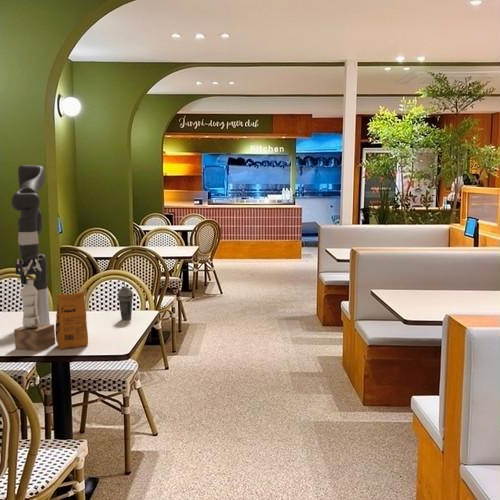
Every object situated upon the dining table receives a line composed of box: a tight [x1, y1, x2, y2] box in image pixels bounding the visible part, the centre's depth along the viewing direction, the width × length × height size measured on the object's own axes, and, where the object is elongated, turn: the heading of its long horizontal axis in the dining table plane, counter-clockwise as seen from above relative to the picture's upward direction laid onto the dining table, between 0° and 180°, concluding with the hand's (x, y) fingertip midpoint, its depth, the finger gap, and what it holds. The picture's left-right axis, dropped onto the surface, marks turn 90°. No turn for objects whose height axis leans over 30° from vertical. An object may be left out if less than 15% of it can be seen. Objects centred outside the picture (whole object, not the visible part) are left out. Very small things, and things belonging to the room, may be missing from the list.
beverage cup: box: [117, 277, 134, 321], centre depth 289 cm, size 7×7×20 cm
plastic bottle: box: [20, 278, 40, 328], centre depth 243 cm, size 6×7×20 cm
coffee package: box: [55, 291, 89, 350], centre depth 245 cm, size 10×12×22 cm
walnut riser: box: [13, 323, 56, 352], centre depth 246 cm, size 11×11×8 cm
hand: (31, 282), depth 243 cm, fingers open, 8 cm apart
